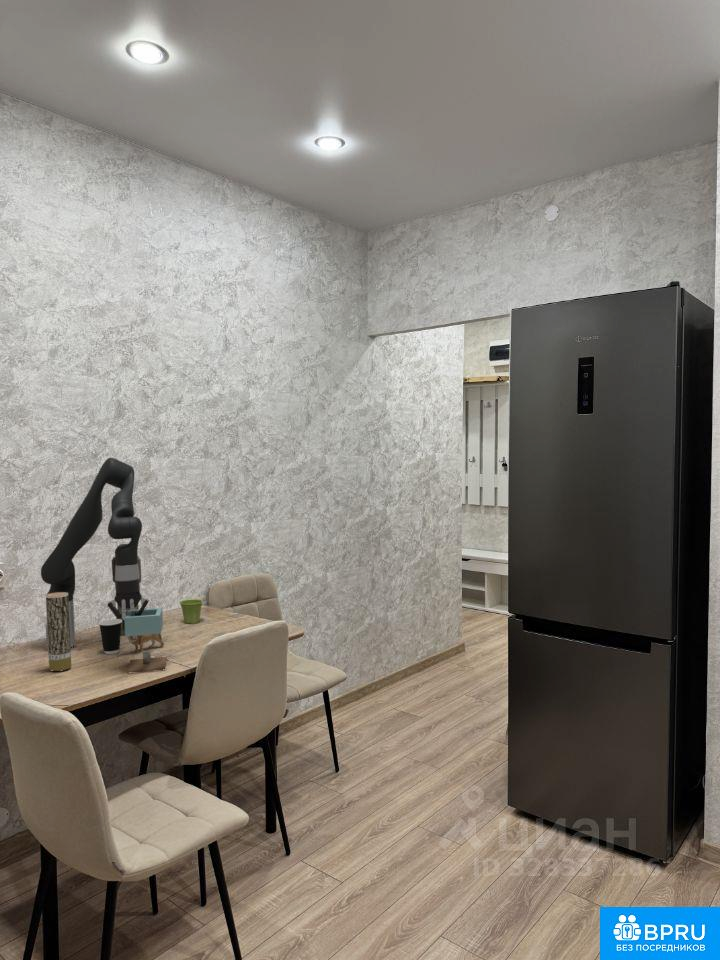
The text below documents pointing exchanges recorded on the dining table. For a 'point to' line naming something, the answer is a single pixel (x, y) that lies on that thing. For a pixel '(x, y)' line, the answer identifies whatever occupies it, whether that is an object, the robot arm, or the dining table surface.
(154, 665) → the shaft block
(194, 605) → the plant pot
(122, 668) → the dining table surface
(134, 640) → the lion figurine
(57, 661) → the paper tube
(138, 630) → the collar
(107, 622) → the dixie cup
